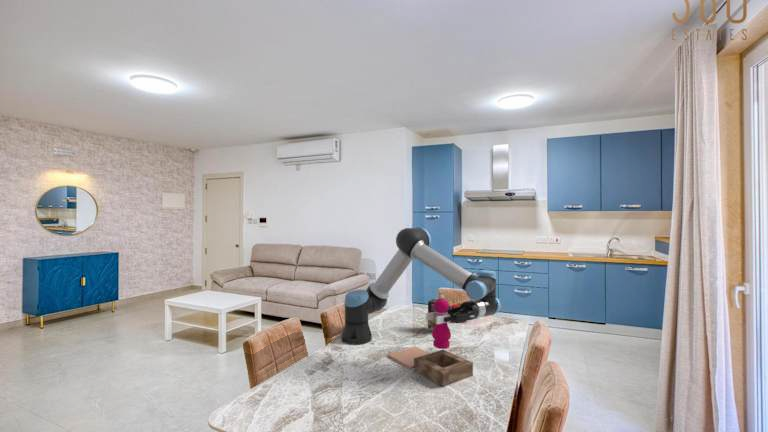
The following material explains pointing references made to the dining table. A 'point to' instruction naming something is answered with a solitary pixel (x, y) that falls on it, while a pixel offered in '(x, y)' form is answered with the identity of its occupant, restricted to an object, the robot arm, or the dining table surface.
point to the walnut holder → (445, 376)
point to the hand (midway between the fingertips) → (431, 318)
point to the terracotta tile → (407, 356)
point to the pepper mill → (441, 325)
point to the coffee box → (430, 309)
